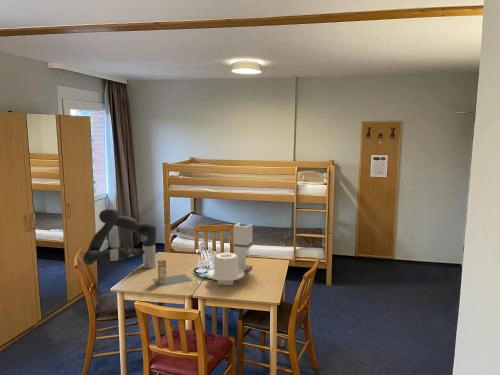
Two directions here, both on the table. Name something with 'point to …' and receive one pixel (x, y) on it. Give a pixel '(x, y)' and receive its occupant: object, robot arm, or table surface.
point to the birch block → (162, 271)
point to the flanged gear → (226, 269)
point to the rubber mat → (173, 280)
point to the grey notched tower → (242, 245)
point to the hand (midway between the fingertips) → (143, 250)
